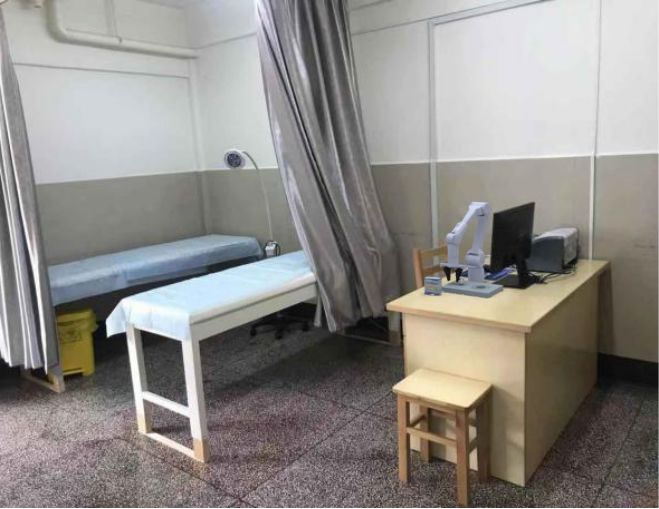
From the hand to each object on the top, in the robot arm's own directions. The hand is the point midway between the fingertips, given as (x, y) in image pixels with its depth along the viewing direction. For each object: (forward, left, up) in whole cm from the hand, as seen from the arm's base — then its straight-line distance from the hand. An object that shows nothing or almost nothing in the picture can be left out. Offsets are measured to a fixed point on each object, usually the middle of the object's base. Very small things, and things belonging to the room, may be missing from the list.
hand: (453, 281), depth 289 cm
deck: (0, +11, -4) cm, 11 cm away
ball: (0, +5, 0) cm, 5 cm away
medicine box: (+15, -3, -4) cm, 16 cm away
